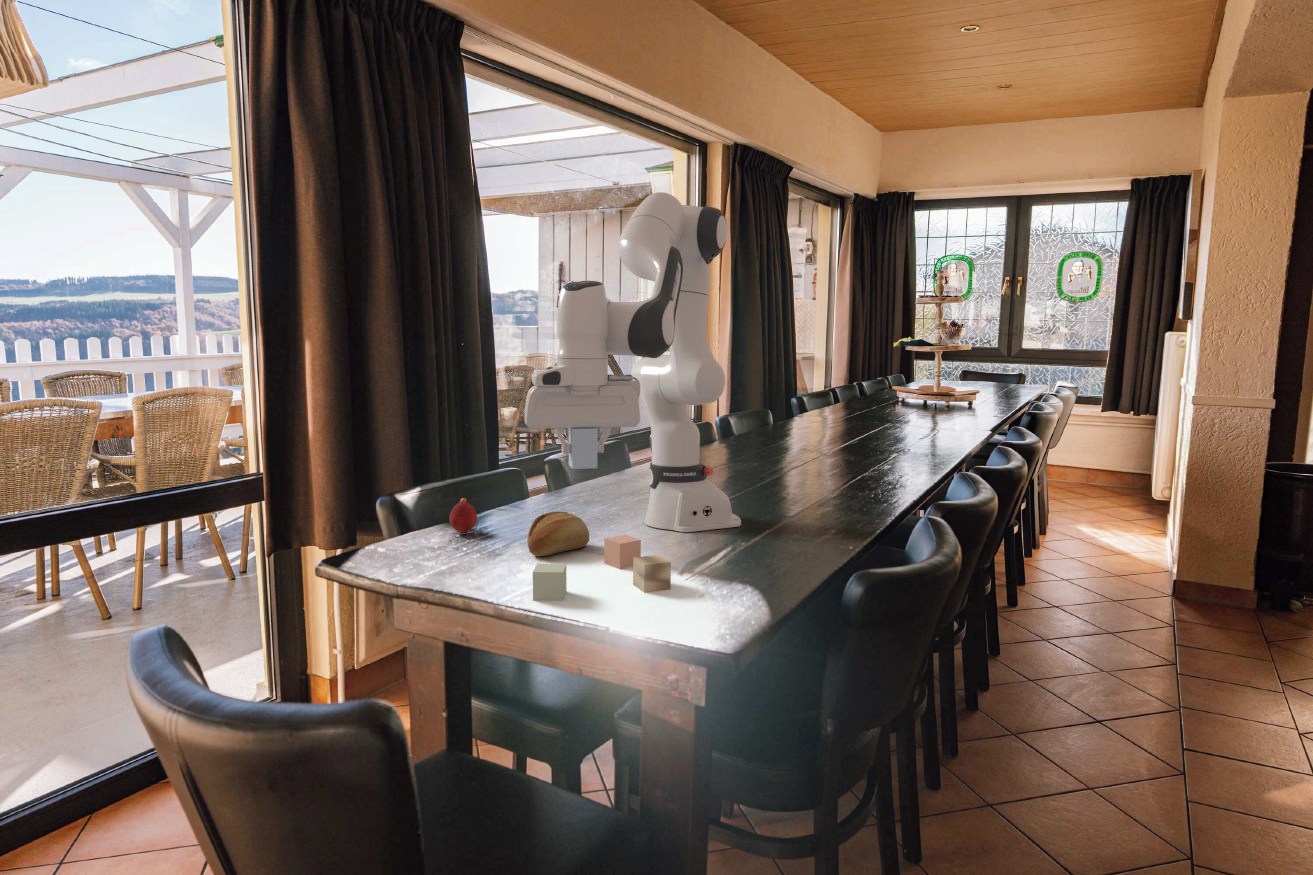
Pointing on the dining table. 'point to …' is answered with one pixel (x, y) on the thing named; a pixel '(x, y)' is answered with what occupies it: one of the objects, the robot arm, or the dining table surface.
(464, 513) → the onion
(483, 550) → the dining table surface
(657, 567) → the birch block
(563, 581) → the sage block
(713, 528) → the robot arm
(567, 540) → the bread roll
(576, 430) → the pale blue block
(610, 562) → the terracotta block
